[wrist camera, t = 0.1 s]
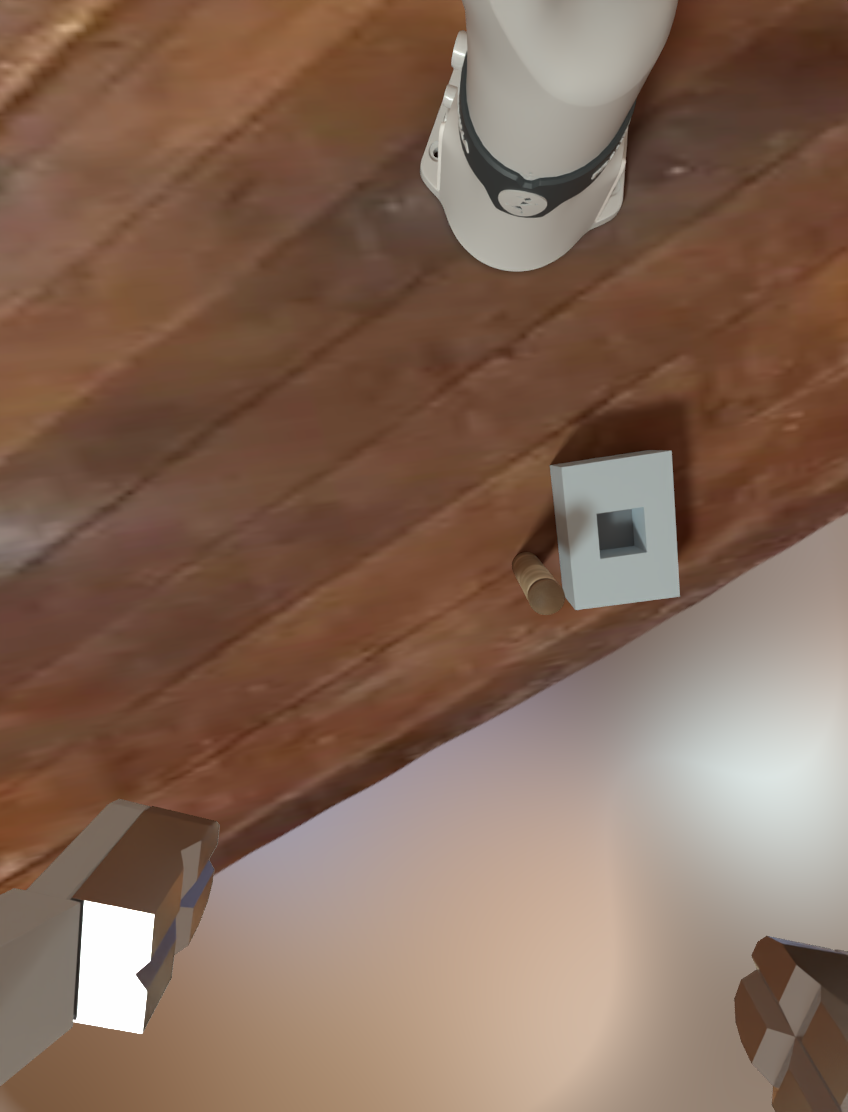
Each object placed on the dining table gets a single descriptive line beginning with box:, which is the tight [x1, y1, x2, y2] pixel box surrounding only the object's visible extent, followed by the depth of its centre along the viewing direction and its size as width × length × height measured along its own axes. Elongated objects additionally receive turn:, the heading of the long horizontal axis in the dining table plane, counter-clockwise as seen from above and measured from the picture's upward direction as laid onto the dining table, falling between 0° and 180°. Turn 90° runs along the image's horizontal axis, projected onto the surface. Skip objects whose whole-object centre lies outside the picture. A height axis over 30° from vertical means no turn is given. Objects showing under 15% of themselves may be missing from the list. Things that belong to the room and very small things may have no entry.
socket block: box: [550, 450, 680, 610], centre depth 51 cm, size 14×10×6 cm
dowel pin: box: [512, 552, 565, 615], centre depth 49 cm, size 3×3×12 cm
